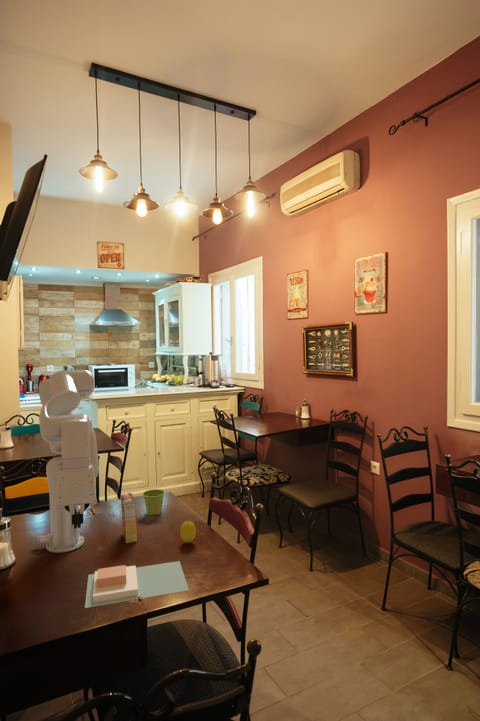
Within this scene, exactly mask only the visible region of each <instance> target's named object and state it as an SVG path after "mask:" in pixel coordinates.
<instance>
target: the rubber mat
mask: <svg viewBox="0 0 480 721" xmlns="http://www.w3.org/2000/svg"><path fill="white" fill-rule="evenodd" d="M182 567H183V566H182V565H181V561H180V560H178V561H177V560H176V561H171V562H164V563H163V562H162V563H159V564H151V565H144V566H137V567H136V574H137V584H138V595H135V596H129V597H123V598H117V599H111V600H105V601H99V602H93V589H94V576H95V573H93V574H92V573H91V574H88V575H87V576H88V577H87V583H86V584H87V585H86V592H85V593H86V594H85V602H84V604H85V605H84V609H89V608H94V607H95V608H96V607H99V606H106V605H112V604H117V603H118V604H119V603H123V602H129V601H136V600H141V597H142V599H146V598H147V599H148V598H153V597H159V596H164V595H169V594H170V595H171V594H176V593H180V592H181V593H182V592H188V591H189V590H190V589H189V586H188V582H187V580H186V577H185V573H184V570H183V568H182ZM140 596H141V597H140ZM138 597H140V599H139V598H138ZM137 598H138V599H137ZM135 599H136V600H135Z"/></svg>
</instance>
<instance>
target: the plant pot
mask: <svg viewBox="0 0 480 721" xmlns="http://www.w3.org/2000/svg"><path fill="white" fill-rule="evenodd" d="M165 494H166V491H165V490H164V489H157V488H156V489H155V488H154V489H148V490H145V491H143V492H142V496H143V500H144V505H145V510H146V514H147V516H158V515H160V514H161V513H162V512H163V502H164V501H163V500H164V496H165Z"/></svg>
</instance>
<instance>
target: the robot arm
mask: <svg viewBox="0 0 480 721" xmlns="http://www.w3.org/2000/svg"><path fill="white" fill-rule="evenodd" d="M95 383H96V382H95V378H94V375H93V374H92V372H91V371H89V370H87V369H72V370H71V369H70V370H65V369H64V370H58V371H55V372H54V373H52V375H51V376H50V377H49V378H46V379H44V380H42V381H41V382H40V383H39V385H38V396H39V401H40V403H41V405H42V407H41V408H40V412H39V416H38V419H39V420H38V422H39V431H40V435H41V436H40V437H41V438H42V440H43V441H45V442H46V443H48V444H49V448H50V451H51V452H52V453H55V454H61V456H57V457H53V458H52V459H50V460H49V461H48V462H47V463H46V466H45V470H46V472H45V473H46V478H47V483H48V492H49V518H50V523H49V524H50V533H47V534H46V535H37V537H36V538H37V539H36V542H39V544H45V548H46V550H47V551H48V552H51V553H67V552H72V551H74V550H77V549H79V548H80V547H81V546H83V545H84V543H85V537H84V536H83V535H80V529H81V527H82V524H84V512H85V511H86V510H88V509H89V507H91V506H95V505H97V503H98V499H97V496H96V495H97V487H96V478H97V477H98V476H99V472H100V465H99V455H98V454H99V453H98V446H97V444H98V443H97V434H96V431H95V430H94V427H93V423H92V419H91V418H90V416H89V415H87V414H83V413H79V414H78V413H76V414H73V413H72V411H75V410H76V409H77V408H78V407H79V406H80V404H81V400H82V401H83V400H86V399H88V398H89V397H91V395H92V394H93V392H94V390H95V386H96V385H95Z"/></svg>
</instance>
